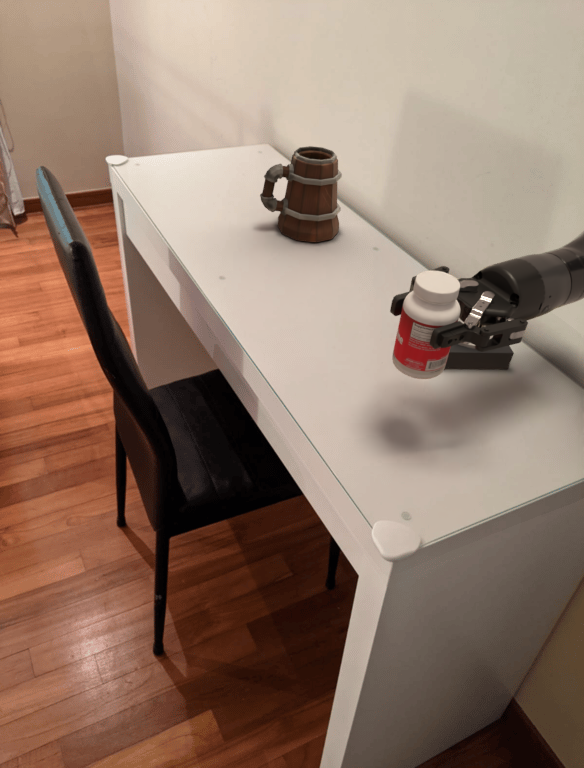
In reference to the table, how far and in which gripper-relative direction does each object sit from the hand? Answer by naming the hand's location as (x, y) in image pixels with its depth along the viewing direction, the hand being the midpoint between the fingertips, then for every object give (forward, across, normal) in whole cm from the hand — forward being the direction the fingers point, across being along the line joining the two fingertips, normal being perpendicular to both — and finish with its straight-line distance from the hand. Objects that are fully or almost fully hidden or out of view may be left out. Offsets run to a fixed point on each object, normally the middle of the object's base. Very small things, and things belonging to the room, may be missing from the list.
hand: (412, 322), depth 66 cm
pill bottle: (-2, 0, +7) cm, 7 cm away
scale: (-23, -10, +18) cm, 31 cm away
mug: (-20, -55, +18) cm, 61 cm away
